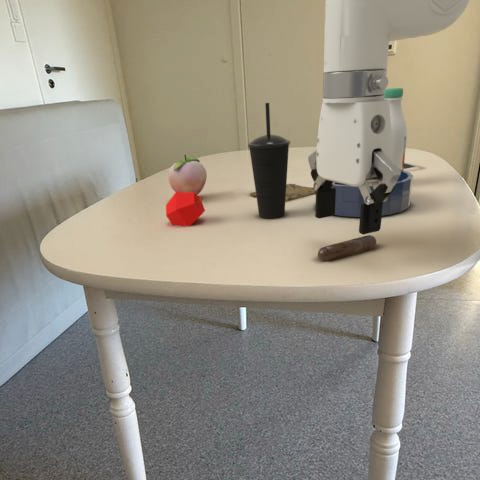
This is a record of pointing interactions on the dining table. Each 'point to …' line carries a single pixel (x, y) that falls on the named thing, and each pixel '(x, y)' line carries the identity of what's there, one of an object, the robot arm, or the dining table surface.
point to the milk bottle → (397, 126)
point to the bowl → (352, 198)
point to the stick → (347, 248)
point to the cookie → (295, 192)
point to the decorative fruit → (187, 176)
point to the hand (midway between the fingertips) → (345, 223)
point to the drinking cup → (270, 171)
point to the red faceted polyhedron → (184, 208)
